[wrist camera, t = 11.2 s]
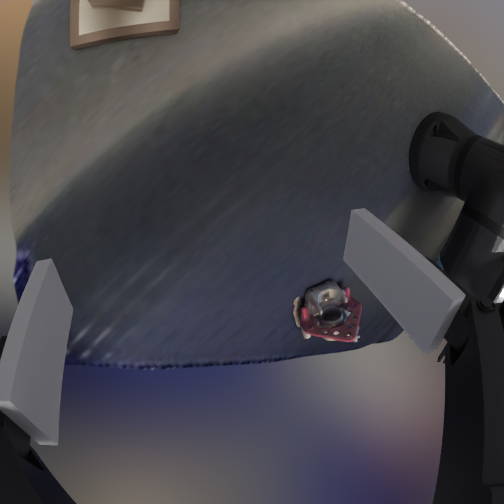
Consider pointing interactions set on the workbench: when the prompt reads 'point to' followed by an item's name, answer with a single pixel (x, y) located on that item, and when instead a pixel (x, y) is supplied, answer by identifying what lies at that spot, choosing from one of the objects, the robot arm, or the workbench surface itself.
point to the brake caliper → (328, 313)
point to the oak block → (118, 4)
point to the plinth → (120, 22)
